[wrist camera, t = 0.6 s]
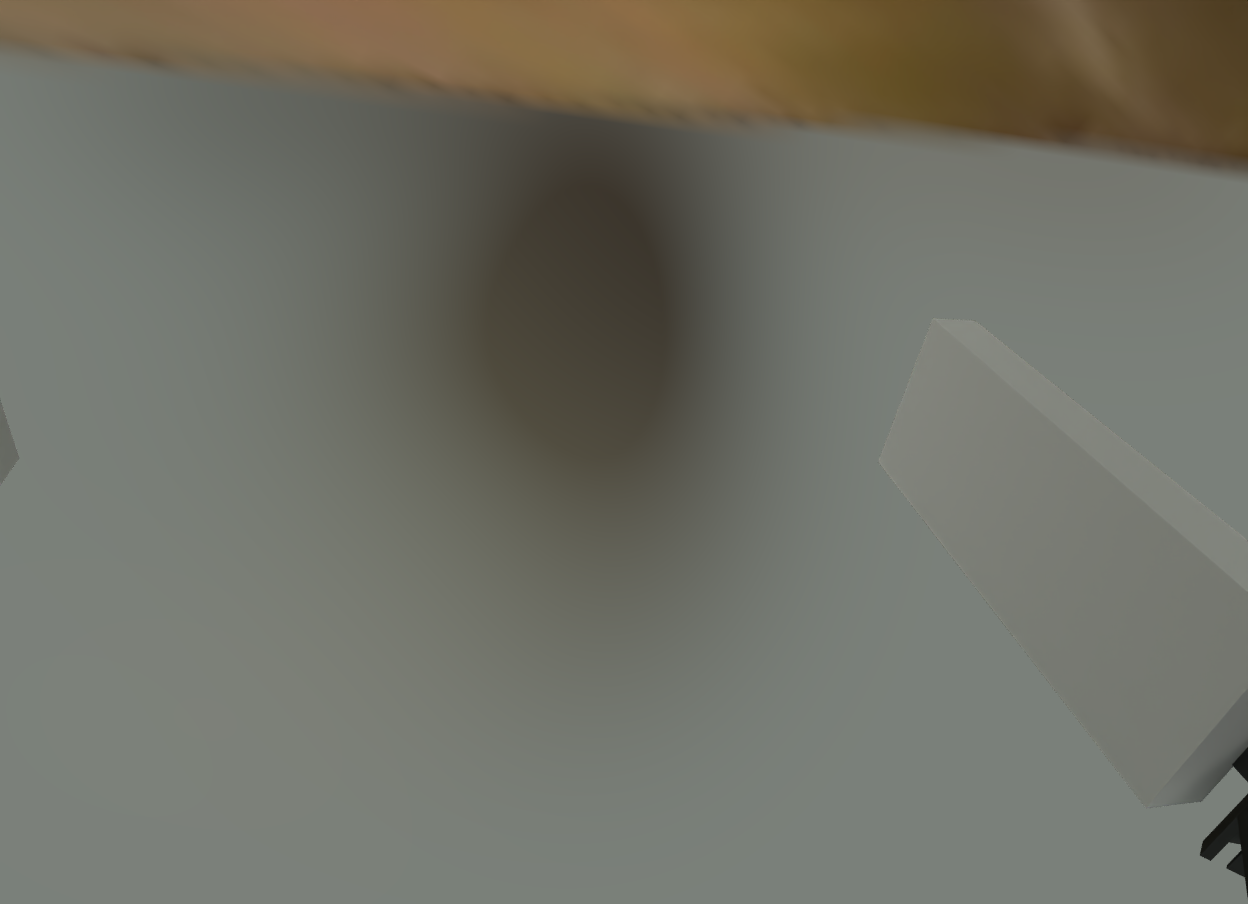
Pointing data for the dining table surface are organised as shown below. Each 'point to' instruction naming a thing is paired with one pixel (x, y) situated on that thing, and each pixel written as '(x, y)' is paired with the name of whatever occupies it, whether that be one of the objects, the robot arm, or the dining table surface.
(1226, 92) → the dining table surface
